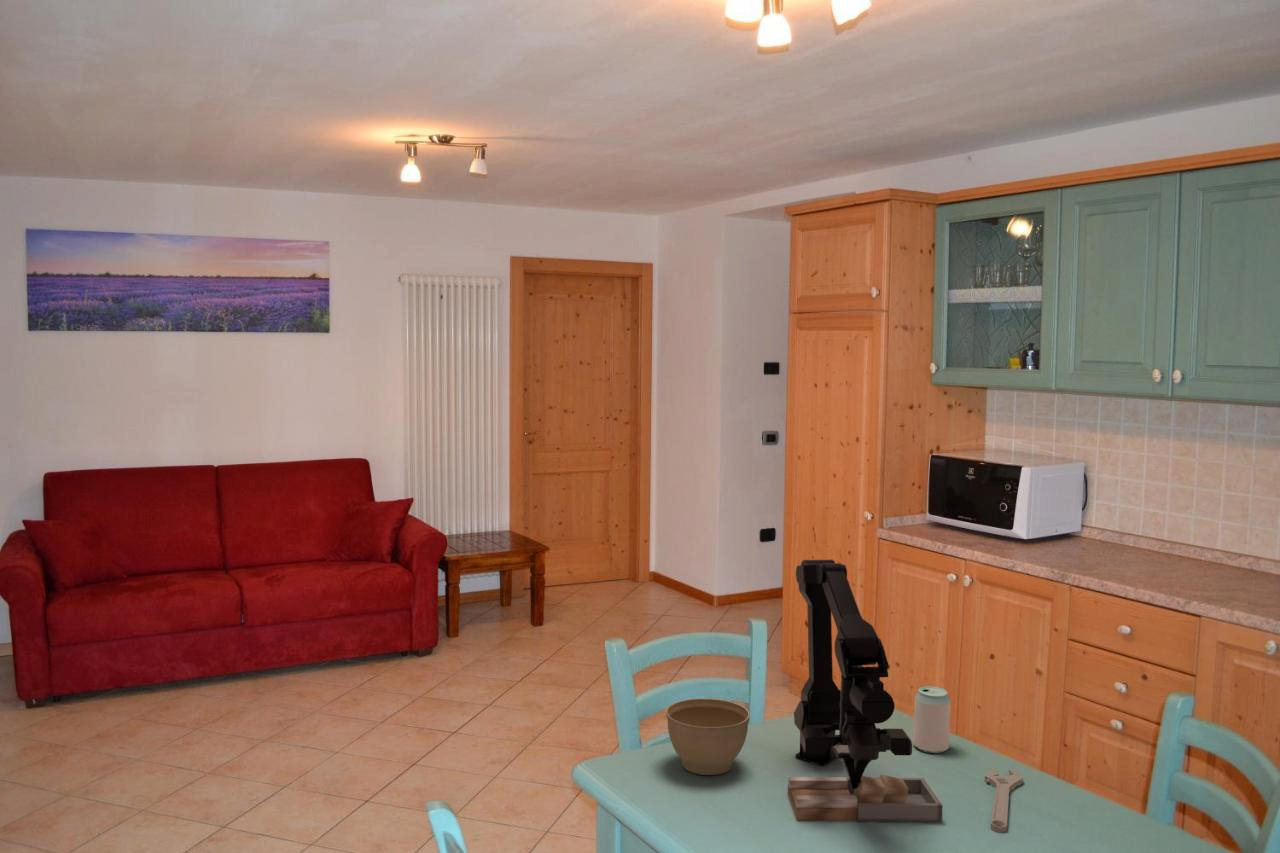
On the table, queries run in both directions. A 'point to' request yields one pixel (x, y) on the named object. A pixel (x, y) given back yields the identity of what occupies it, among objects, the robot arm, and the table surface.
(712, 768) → the planter bowl
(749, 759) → the table surface
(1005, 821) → the adjustable wrench
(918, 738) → the can
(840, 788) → the slot board
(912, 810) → the tray
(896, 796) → the light brown cube
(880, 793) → the brown wooden cube
